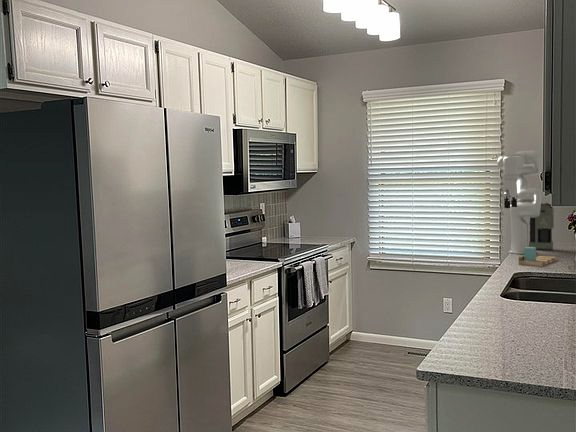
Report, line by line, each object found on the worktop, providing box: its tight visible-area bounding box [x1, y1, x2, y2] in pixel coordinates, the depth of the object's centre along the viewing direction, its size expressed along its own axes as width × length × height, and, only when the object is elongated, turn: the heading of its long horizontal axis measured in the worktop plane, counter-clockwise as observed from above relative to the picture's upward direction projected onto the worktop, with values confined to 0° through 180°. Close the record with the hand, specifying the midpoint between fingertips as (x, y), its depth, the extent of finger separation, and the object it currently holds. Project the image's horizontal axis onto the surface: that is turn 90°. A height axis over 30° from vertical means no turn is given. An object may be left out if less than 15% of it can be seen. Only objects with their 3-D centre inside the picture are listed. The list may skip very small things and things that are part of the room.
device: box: [528, 202, 555, 251], centre depth 357 cm, size 14×8×30 cm, turn 59°
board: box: [518, 251, 558, 267], centre depth 311 cm, size 24×12×4 cm, turn 136°
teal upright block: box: [523, 247, 537, 261], centre depth 307 cm, size 5×4×7 cm
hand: (510, 207), depth 322 cm, fingers open, 9 cm apart
